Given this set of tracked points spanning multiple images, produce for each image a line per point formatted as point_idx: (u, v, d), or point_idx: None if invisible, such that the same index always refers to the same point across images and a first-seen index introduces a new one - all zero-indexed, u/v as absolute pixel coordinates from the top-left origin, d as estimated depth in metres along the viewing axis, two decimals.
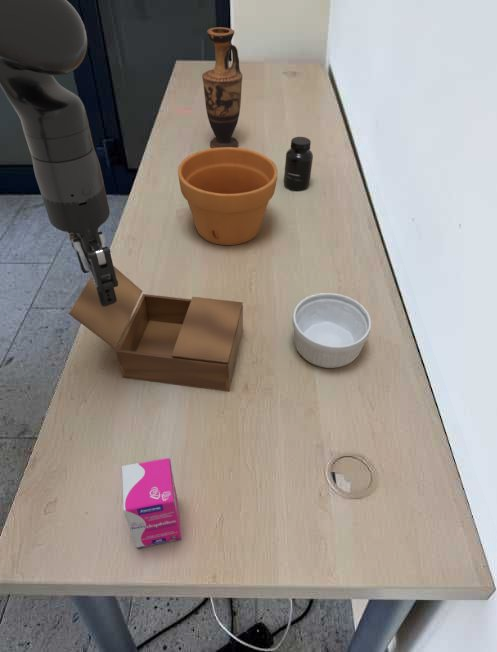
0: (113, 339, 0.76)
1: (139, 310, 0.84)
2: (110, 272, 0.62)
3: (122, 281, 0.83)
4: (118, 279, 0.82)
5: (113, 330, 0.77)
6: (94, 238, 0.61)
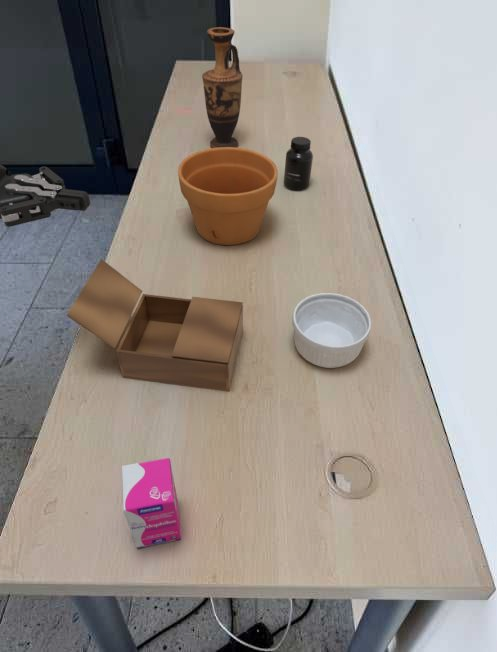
0: (113, 339, 0.76)
1: (139, 310, 0.84)
2: (27, 209, 0.64)
3: (121, 282, 0.83)
4: (117, 280, 0.82)
5: (113, 330, 0.77)
6: None
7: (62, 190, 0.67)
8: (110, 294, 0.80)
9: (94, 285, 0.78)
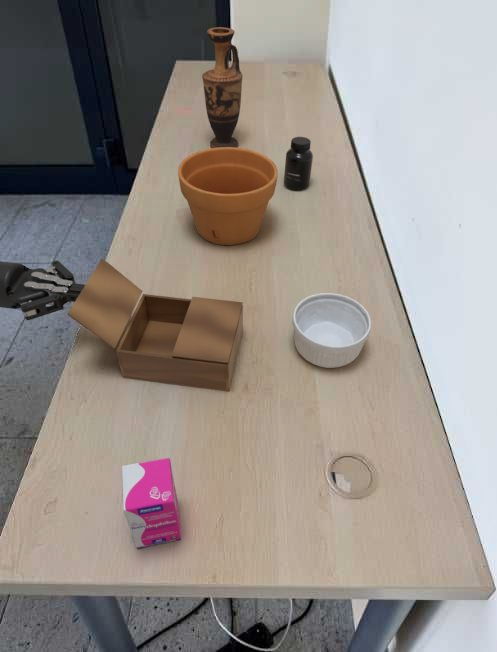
0: (113, 339, 0.76)
1: (139, 310, 0.84)
2: (44, 305, 0.75)
3: (121, 281, 0.83)
4: (117, 279, 0.82)
5: (113, 330, 0.77)
6: (15, 300, 0.76)
7: (73, 285, 0.78)
8: (110, 294, 0.80)
9: (94, 285, 0.78)
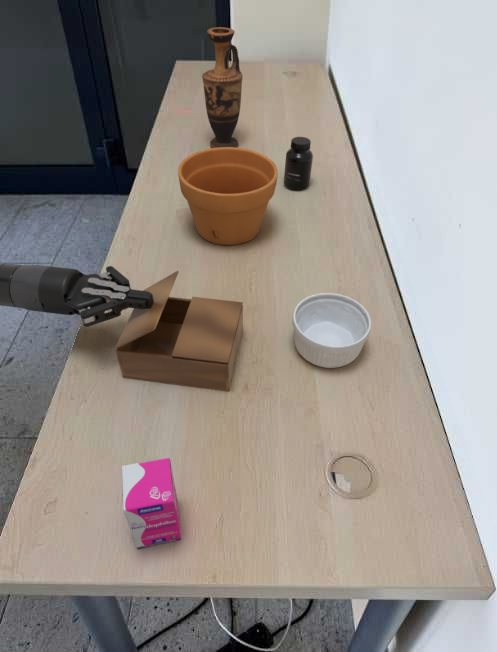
0: None
1: None
2: (103, 312, 0.74)
3: None
4: None
5: None
6: None
7: (130, 291, 0.77)
8: None
9: None
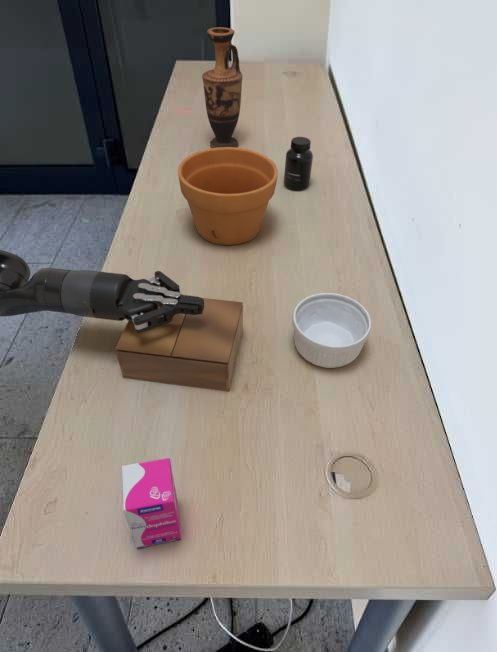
0: None
1: None
2: (156, 318, 0.73)
3: None
4: None
5: None
6: None
7: (181, 297, 0.76)
8: None
9: None
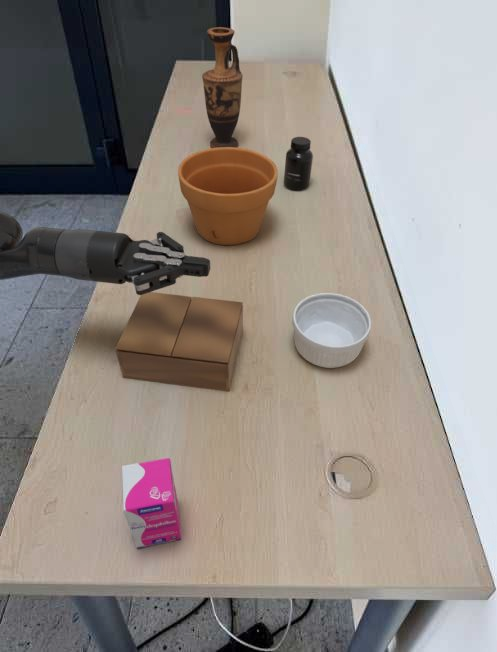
0: None
1: None
2: (158, 278, 0.68)
3: None
4: None
5: None
6: None
7: (185, 257, 0.70)
8: None
9: None
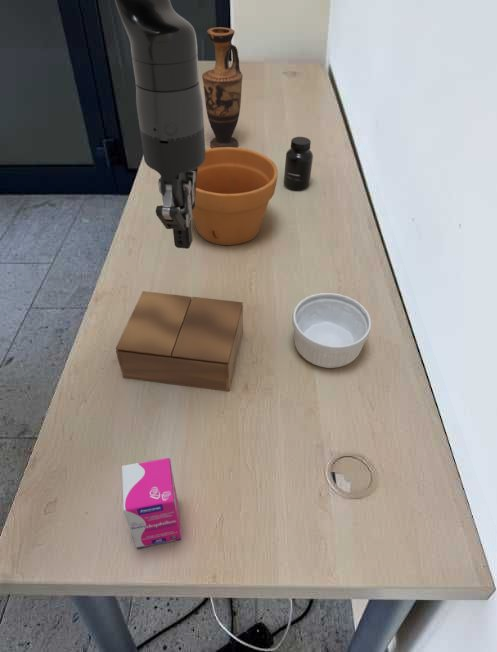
0: None
1: None
2: (176, 224, 0.61)
3: None
4: None
5: None
6: (171, 183, 0.58)
7: (190, 223, 0.67)
8: None
9: None
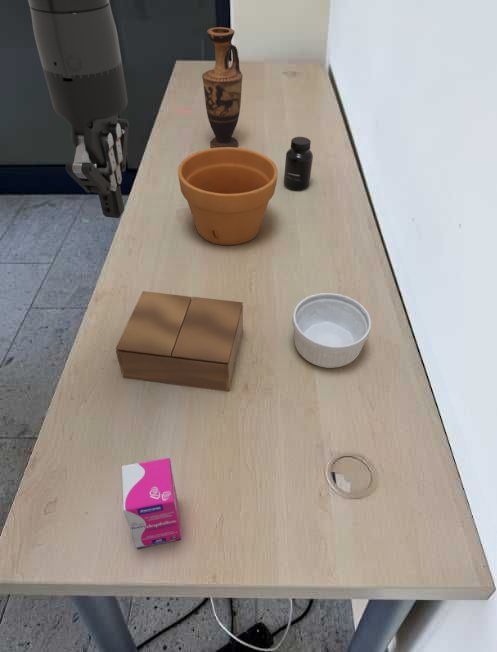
0: None
1: None
2: (95, 185, 0.52)
3: None
4: None
5: None
6: (83, 133, 0.49)
7: (118, 187, 0.57)
8: None
9: None
